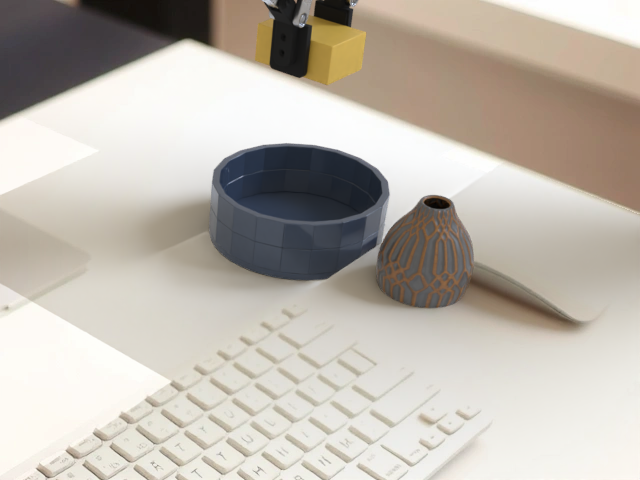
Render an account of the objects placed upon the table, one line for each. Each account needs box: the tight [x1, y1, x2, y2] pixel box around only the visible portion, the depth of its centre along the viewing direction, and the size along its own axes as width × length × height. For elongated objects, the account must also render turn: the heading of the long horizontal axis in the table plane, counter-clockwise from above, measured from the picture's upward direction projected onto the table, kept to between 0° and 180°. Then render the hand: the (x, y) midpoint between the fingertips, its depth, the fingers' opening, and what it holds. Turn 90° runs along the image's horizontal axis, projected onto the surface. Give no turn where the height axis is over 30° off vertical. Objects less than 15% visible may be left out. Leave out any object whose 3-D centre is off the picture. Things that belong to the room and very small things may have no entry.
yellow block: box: [254, 14, 367, 86], centre depth 83 cm, size 4×7×3 cm, turn 46°
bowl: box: [208, 142, 391, 281], centre depth 89 cm, size 14×14×5 cm
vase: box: [375, 194, 475, 309], centre depth 80 cm, size 7×7×9 cm
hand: (308, 61), depth 84 cm, fingers closed on yellow block, 4 cm apart
